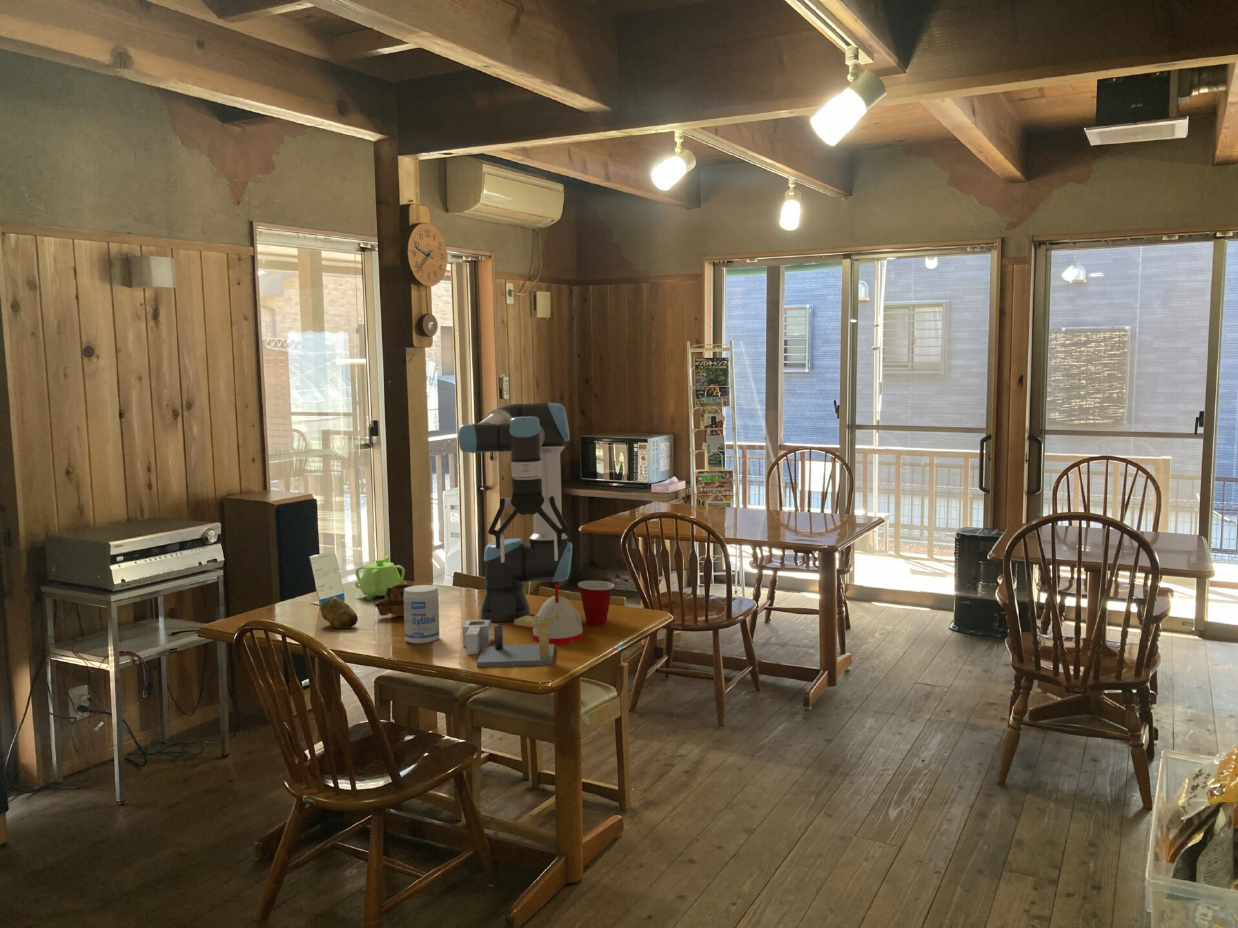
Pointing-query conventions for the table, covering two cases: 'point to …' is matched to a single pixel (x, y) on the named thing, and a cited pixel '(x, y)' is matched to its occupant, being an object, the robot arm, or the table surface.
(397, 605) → the wooden carving
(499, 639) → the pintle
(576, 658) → the table surface
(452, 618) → the table surface
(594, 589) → the plastic cup
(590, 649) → the table surface
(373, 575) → the green lidded pot
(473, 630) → the link
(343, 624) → the potato
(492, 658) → the board
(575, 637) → the kitchen timer
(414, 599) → the supplement tub
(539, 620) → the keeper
